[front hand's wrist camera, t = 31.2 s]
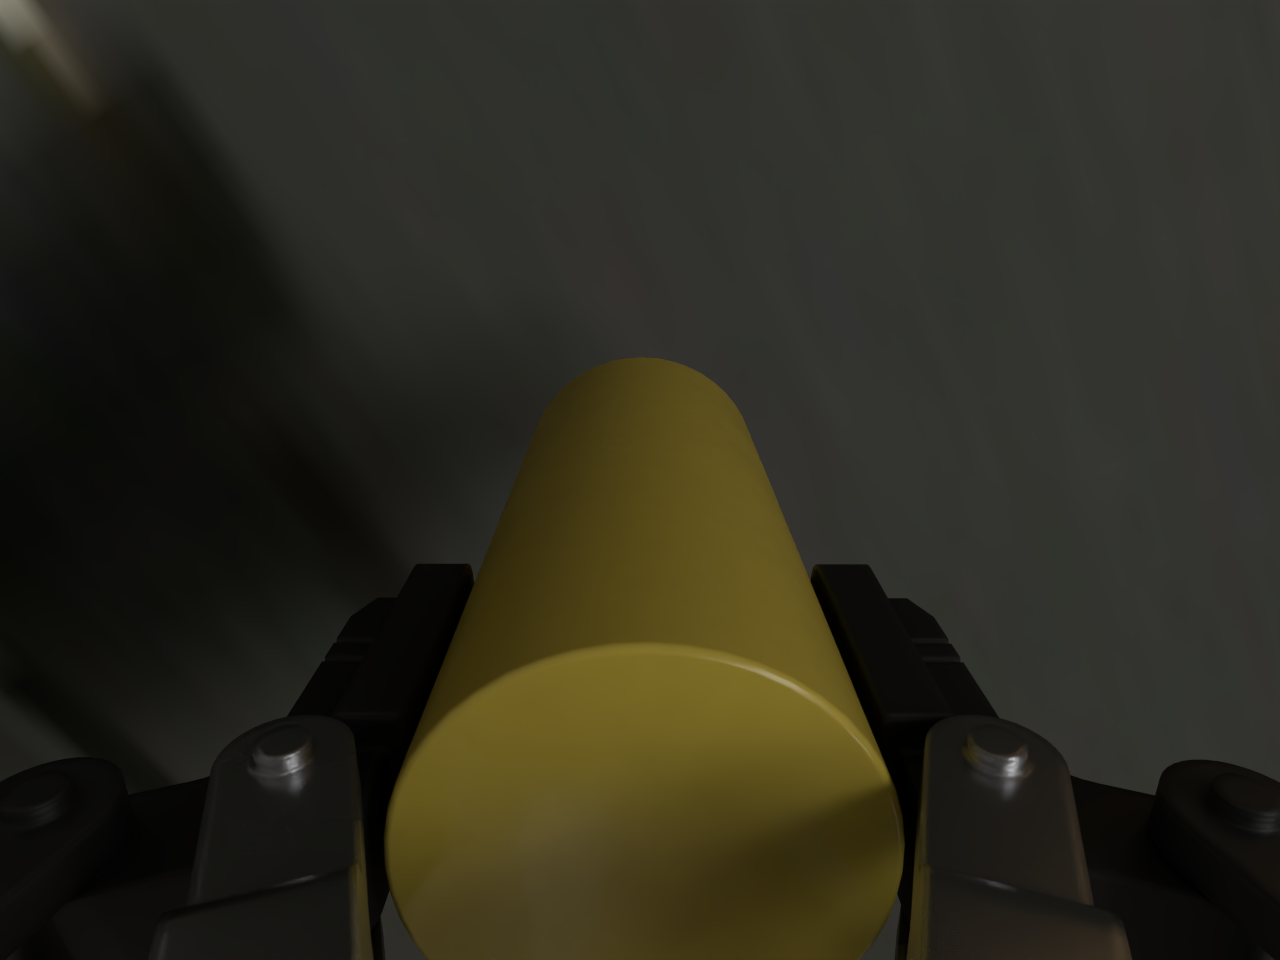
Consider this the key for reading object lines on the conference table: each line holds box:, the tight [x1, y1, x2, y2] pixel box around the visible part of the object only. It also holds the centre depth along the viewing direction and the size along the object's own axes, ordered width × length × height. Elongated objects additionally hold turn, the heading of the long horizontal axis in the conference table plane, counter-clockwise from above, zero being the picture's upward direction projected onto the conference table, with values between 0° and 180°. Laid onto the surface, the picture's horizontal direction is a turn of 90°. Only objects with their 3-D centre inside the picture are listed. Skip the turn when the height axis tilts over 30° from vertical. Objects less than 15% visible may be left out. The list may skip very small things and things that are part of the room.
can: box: [383, 358, 905, 960], centre depth 13 cm, size 5×5×11 cm
